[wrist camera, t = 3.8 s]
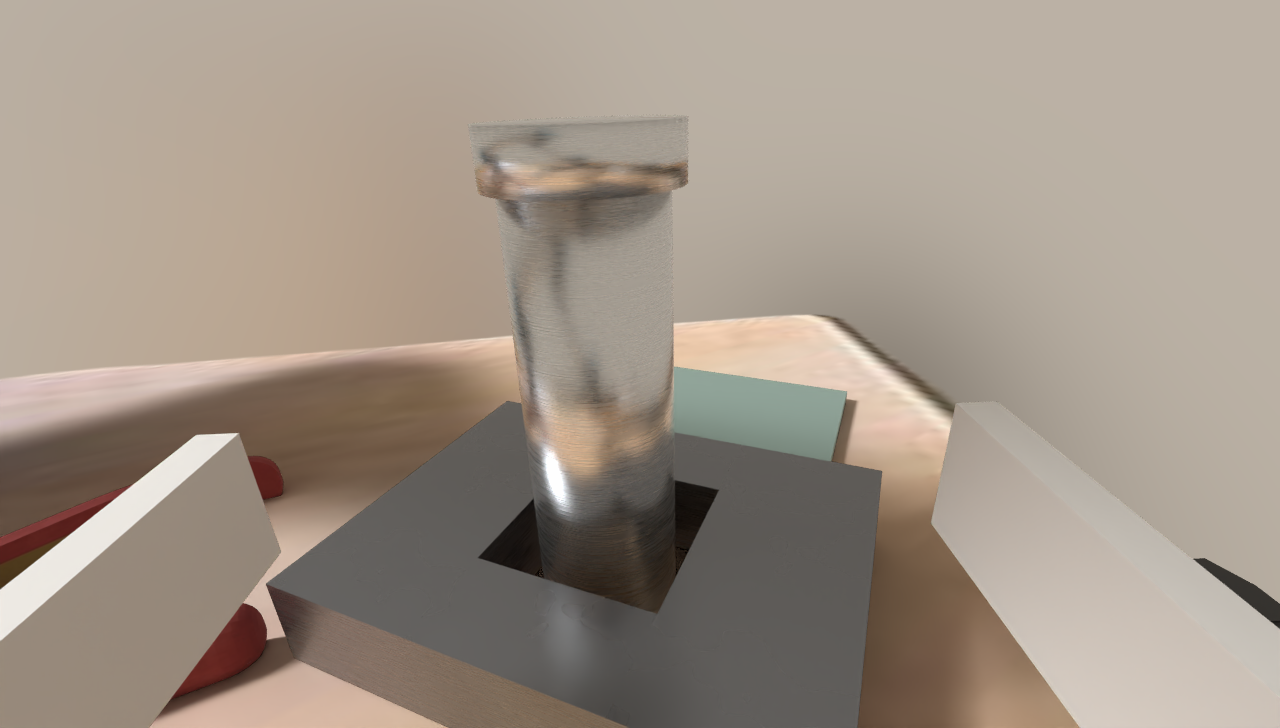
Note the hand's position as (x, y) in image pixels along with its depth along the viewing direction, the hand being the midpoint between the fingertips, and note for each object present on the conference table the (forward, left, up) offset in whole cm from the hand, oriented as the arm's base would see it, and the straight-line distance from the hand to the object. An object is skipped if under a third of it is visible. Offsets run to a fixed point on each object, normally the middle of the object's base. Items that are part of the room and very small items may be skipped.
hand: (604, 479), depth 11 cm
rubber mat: (-3, +17, -9) cm, 20 cm away
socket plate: (-3, +5, -9) cm, 11 cm away
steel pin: (-3, +5, -9) cm, 11 cm away
